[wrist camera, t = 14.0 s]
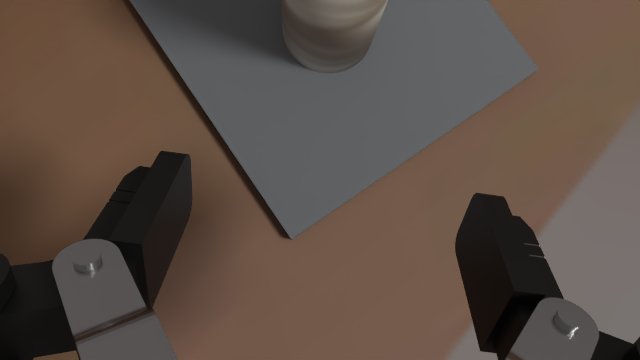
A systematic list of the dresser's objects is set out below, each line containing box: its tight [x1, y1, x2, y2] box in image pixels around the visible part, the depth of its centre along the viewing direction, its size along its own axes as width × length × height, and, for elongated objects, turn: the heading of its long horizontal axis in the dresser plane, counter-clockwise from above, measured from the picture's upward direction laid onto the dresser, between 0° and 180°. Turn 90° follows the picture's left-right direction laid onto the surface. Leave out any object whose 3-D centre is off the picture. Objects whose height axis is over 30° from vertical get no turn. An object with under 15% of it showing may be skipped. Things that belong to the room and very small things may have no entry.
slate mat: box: [130, 0, 538, 240], centre depth 26 cm, size 16×16×1 cm
